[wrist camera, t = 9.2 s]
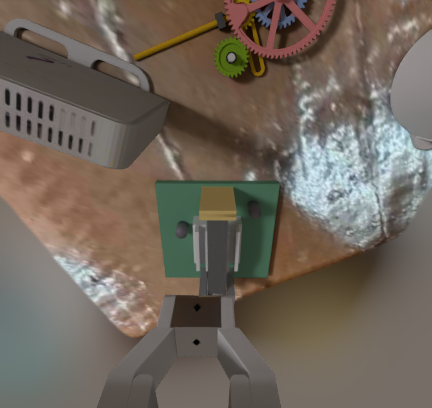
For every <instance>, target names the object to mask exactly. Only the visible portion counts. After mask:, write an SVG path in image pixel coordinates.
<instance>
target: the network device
mask: <svg viewBox="0 0 432 408" xmlns="http://www.w3.org/2000/svg"><path fill="white" fill-rule="evenodd" d="M21 28H26V29H28V30H31V31H33V32H36V33H38V34H40V35H43V36H45V37H48V38H50V39H52V40H55V41H57V42H59V43H61V44H63V45H64V46H65V47H66V49H67V51H68V58H64V57H62V56H59V55H57V54H54V53H52V52H50V51H47V50H45V49H42V48H40V47H37V46H35V45H32V44H30V43H28V42H25V41H23V40H20V39H18V38H17V32H18V30H19V29H21ZM97 60H103V61H105V62H107V63H110V64H112V65H115V66H117V67H119V68H122V69H124V70H127V71H129V72H131V73H134V74H136V75H137V76H138V77H139V79H140V81H141V88H138V87H135V86H133V85H130V84H128V83H125V82H123V81H120V80H118V79H116V78H113V77H111V76H108V75H106V74H103V73H101V72H98V71H96V70H94V69H93V64H94V63H95V62H96V61H97ZM169 104H170V102H169V101H168V100H166V99H164V98H162V97H160V96H157V95H155V94H152V93H150V84H149V80H148V78H147V76H146V75H145V73H144V72H143V71H142V70H141V69H140V68H139V67H137V66H135V65H133V64H131V63H129V62H126V61H124V60H121V59H119V58H117V57H114V56H112V55H110V54H107V53H105V52H103V51H100V50H98V49H96V48H93V47H91V46H88V45H86V44H84V43H81V42H79V41H77V40H74V39H72V38H70V37H67V36H65V35H62V34H60V33H58V32H55V31H53V30H51V29H48V28H46V27H44V26H41V25H39V24H36V23H34V22H32V21H29V20H25V19H14V20H12V21H10V22H9V23H8V24H7V25H6V27H5V29H4V33H3V32H1V31H0V131H3V132H5V133H8V134H11V135H14V136H17V137H20V138H23V139H26V140H28V141H31V142H34V143H37V144H40V145H43V146H46V147H49V148H51V149H54V150H57V151H60V152H63V153H66V154H69V155H72V156H74V157H77V158H80V159H83V160H86V161H89V162H92V163H95V164H97V165H100V166H103V167H107V168H111V169H125V168H128V167H129V166H130V165H131V164H132V163H133V162H134V161H135V160H136V158H137V157H138V156H139V155H140V154H141V153H142V152H143V151H144V149H145V148H146V147H147V146H148V145H149V144H150V143H151V142H152V140H153V139H154V138H155V137H156V136H157V135H158V134H159V133H160V132H161V130H162V128H163V125H164V121H165V118H166V114H167V111H168V107H169Z"/></svg>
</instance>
